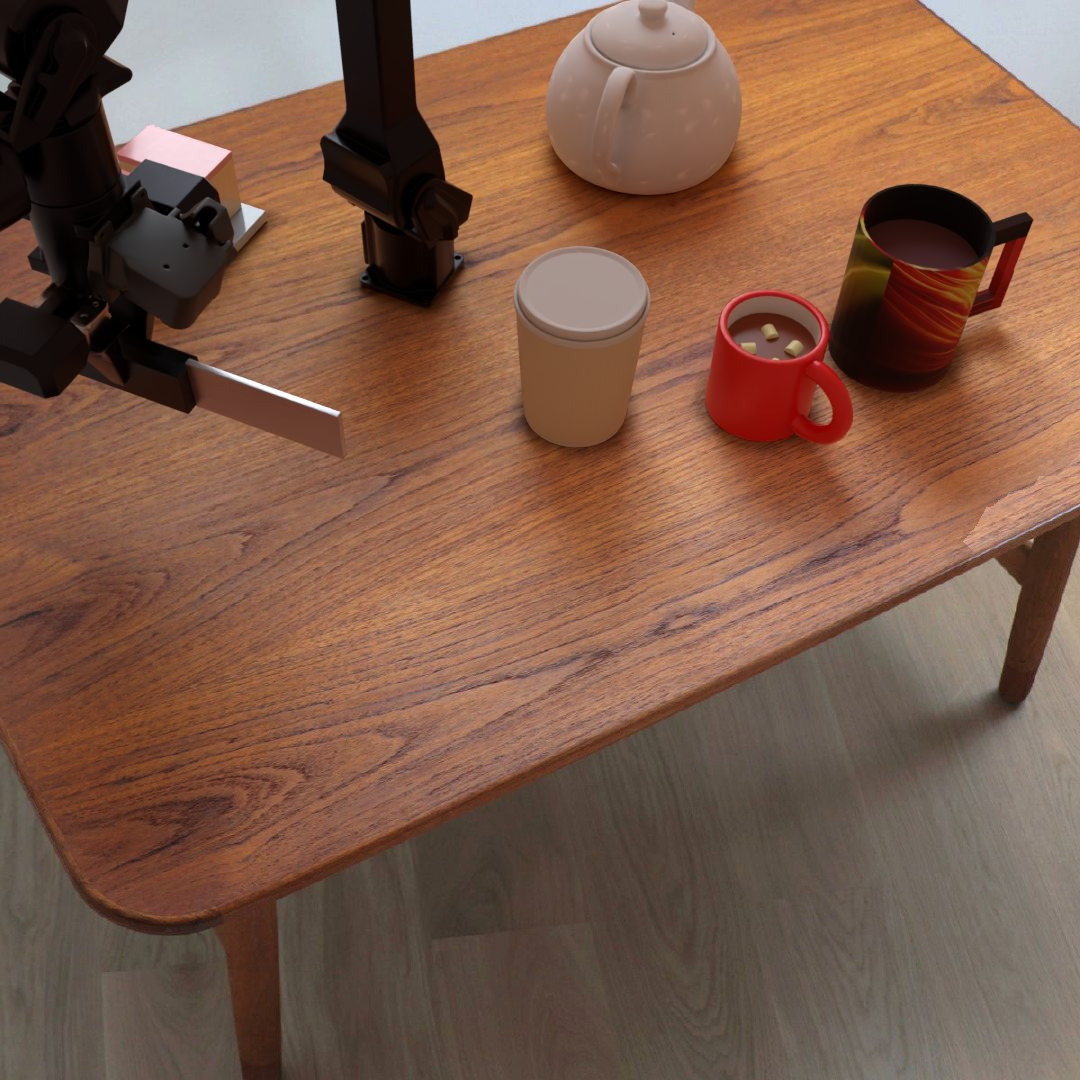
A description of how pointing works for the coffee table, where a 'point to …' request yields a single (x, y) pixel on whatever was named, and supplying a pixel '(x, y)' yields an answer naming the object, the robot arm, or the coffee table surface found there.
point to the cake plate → (196, 172)
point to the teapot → (644, 99)
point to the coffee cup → (579, 342)
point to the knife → (222, 394)
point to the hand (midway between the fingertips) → (130, 369)
